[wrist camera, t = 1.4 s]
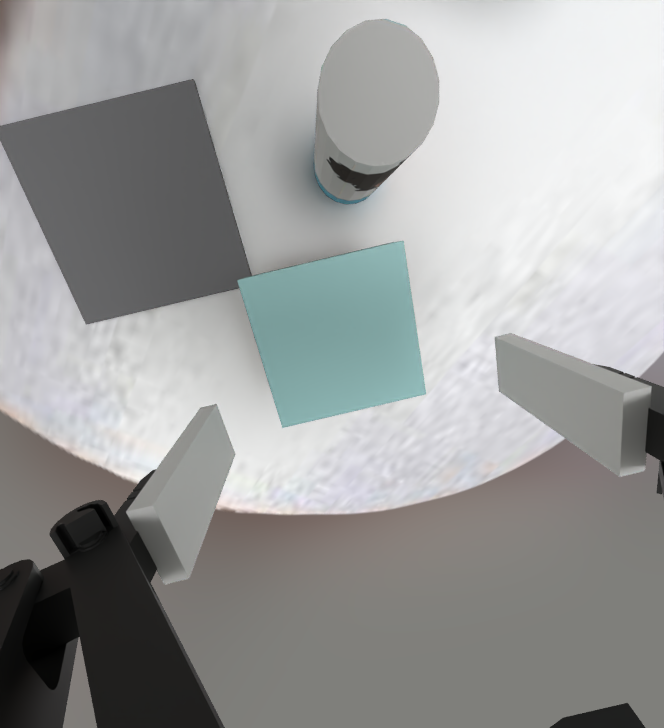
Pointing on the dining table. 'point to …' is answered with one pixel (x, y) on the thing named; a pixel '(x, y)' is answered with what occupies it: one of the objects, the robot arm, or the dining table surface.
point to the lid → (336, 333)
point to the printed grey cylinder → (372, 107)
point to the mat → (130, 200)
